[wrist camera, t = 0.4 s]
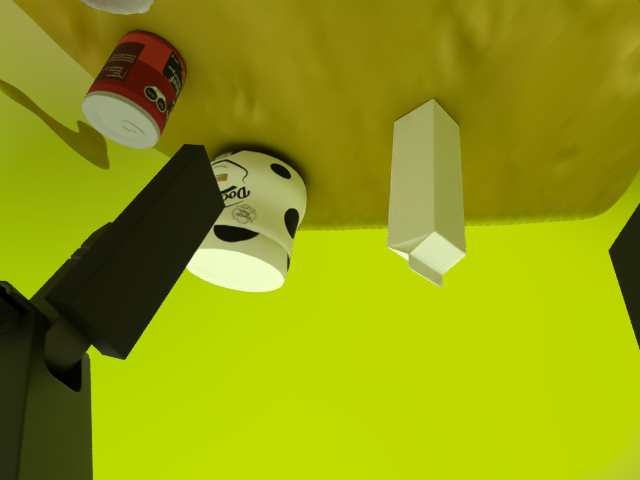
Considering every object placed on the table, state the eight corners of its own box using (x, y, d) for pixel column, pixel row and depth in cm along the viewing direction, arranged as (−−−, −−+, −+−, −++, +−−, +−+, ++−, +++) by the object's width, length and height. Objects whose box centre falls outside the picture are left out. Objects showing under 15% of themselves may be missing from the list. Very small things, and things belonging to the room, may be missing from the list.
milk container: (215, 123, 55) (176, 230, 46) (325, 164, 60) (308, 268, 51) (203, 185, 70) (171, 276, 61) (292, 214, 74) (274, 302, 66)
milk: (433, 97, 46) (435, 259, 35) (460, 126, 49) (469, 282, 39) (392, 121, 50) (384, 273, 40) (420, 147, 54) (418, 293, 43)
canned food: (181, 95, 51) (153, 158, 46) (119, 65, 48) (81, 129, 43) (194, 52, 45) (163, 119, 40) (123, 15, 42) (79, 82, 37)
